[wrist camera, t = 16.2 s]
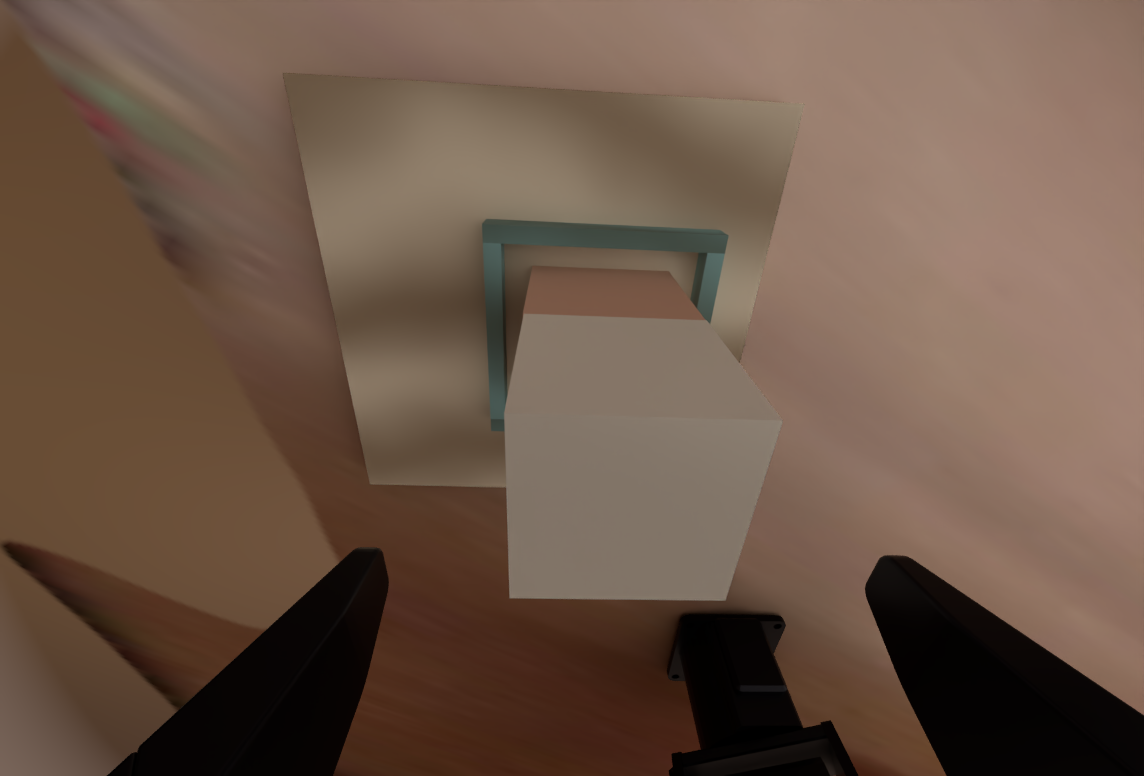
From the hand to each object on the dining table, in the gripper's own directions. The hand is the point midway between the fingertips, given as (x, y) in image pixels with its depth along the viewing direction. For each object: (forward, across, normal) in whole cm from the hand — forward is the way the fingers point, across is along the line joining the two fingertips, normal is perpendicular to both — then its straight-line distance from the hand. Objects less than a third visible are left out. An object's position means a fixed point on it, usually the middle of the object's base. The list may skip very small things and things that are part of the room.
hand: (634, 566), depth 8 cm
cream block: (+6, 0, 0) cm, 6 cm away
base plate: (+12, +2, 0) cm, 13 cm away
